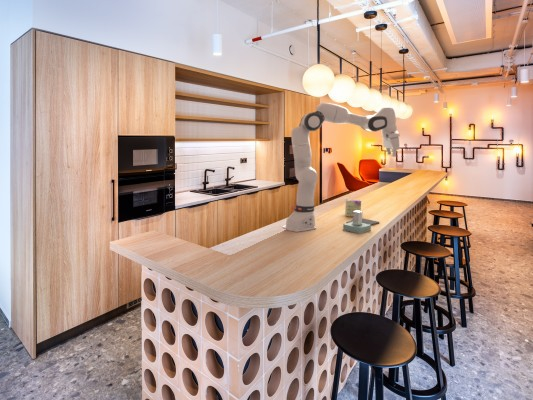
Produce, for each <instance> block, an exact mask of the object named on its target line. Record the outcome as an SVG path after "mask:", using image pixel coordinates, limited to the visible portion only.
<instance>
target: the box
mask: <svg viewBox="0 0 533 400" xmlns="http://www.w3.org/2000/svg"><path fill="white" fill-rule="evenodd" d="M361 208H362V200H361V199H349V198H348V199H345V208H344V209H345V212H344V215H345V217H353V211H357V210H358V211H362V209H361Z"/></svg>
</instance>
